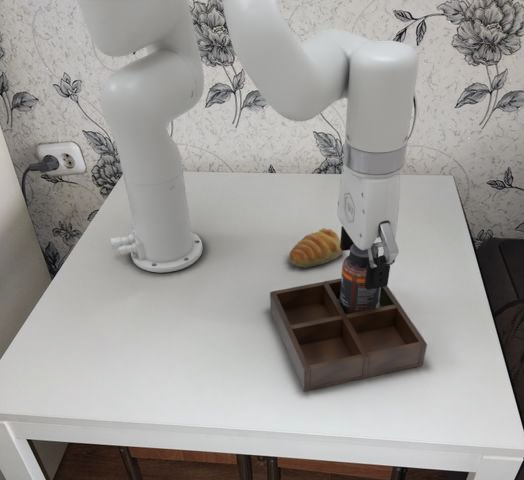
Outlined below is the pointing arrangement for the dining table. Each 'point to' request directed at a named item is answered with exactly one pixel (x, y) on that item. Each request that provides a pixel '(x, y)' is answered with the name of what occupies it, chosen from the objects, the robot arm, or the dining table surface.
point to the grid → (343, 335)
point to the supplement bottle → (357, 283)
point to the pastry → (316, 249)
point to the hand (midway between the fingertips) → (362, 266)
